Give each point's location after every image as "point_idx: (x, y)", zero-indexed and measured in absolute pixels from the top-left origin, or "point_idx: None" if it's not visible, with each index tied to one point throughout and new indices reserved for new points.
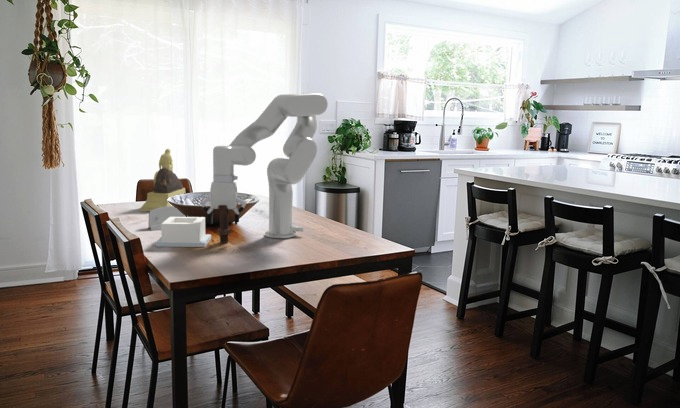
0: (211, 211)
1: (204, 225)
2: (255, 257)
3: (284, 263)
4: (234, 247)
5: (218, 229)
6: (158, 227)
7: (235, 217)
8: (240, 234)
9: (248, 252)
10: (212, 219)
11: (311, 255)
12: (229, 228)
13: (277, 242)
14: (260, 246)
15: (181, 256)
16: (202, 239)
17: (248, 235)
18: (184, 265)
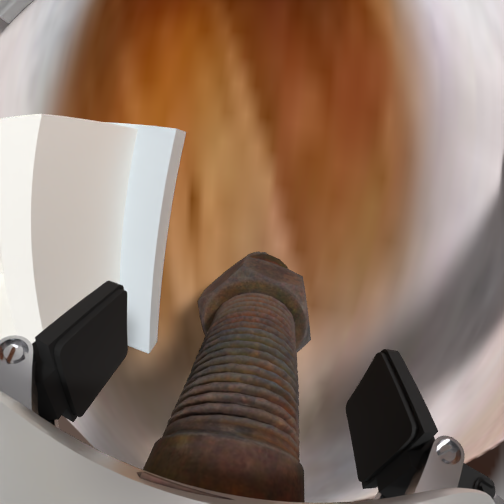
0: (44, 397)
1: (86, 158)
2: (335, 470)
3: (376, 489)
4: (303, 382)
5: (204, 329)
6: (20, 4)
7: (361, 461)
8: (396, 68)
9: (336, 439)
10: (107, 326)
11: (465, 444)
12: (306, 327)
13: (499, 316)
14: (418, 377)
15: (108, 414)
16: (125, 276)
17: (440, 114)
18: (142, 465)
